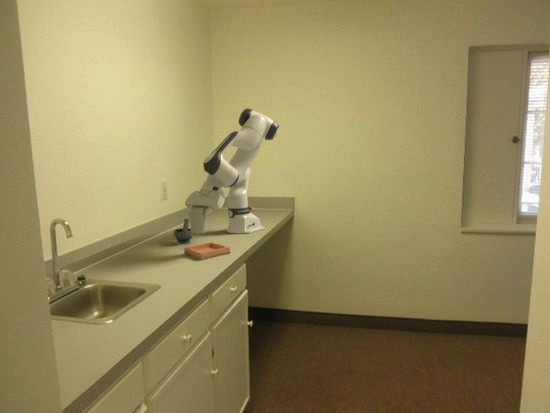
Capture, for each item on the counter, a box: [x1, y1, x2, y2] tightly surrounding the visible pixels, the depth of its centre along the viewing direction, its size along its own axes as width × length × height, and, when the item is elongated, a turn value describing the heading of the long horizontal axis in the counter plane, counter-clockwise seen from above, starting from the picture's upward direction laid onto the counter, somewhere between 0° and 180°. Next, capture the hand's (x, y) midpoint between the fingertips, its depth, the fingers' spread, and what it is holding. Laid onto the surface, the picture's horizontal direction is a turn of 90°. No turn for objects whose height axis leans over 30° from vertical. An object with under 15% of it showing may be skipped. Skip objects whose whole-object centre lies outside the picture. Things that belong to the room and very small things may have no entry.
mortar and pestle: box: [173, 218, 194, 245], centre depth 219 cm, size 11×9×12 cm
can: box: [189, 207, 208, 235], centre depth 195 cm, size 8×8×12 cm
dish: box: [183, 241, 231, 261], centre depth 196 cm, size 15×15×3 cm
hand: (197, 215), depth 194 cm, fingers closed on can, 7 cm apart
